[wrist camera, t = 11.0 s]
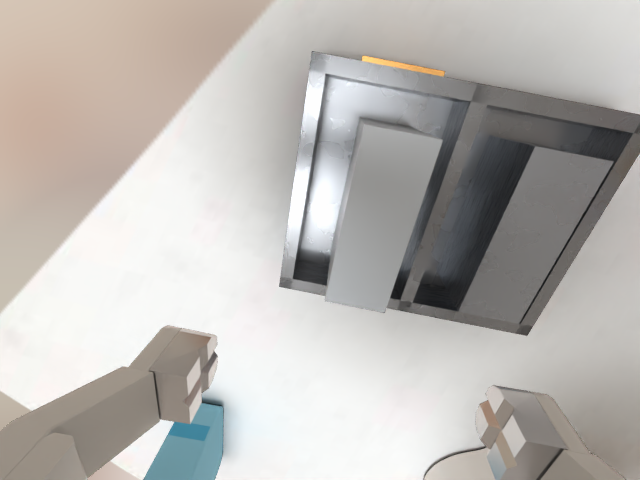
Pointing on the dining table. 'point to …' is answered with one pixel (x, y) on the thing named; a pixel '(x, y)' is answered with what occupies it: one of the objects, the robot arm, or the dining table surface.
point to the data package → (191, 448)
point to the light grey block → (378, 211)
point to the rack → (461, 187)
